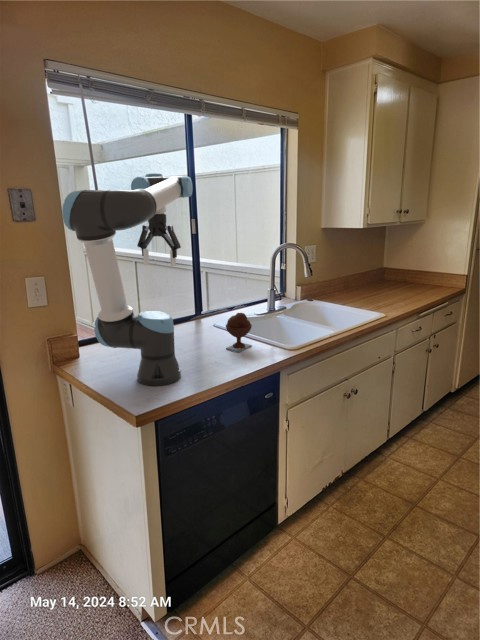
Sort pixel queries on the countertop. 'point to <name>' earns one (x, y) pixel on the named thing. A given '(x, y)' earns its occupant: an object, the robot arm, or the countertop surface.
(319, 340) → the countertop surface
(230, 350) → the mat
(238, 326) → the ice cream bowl
